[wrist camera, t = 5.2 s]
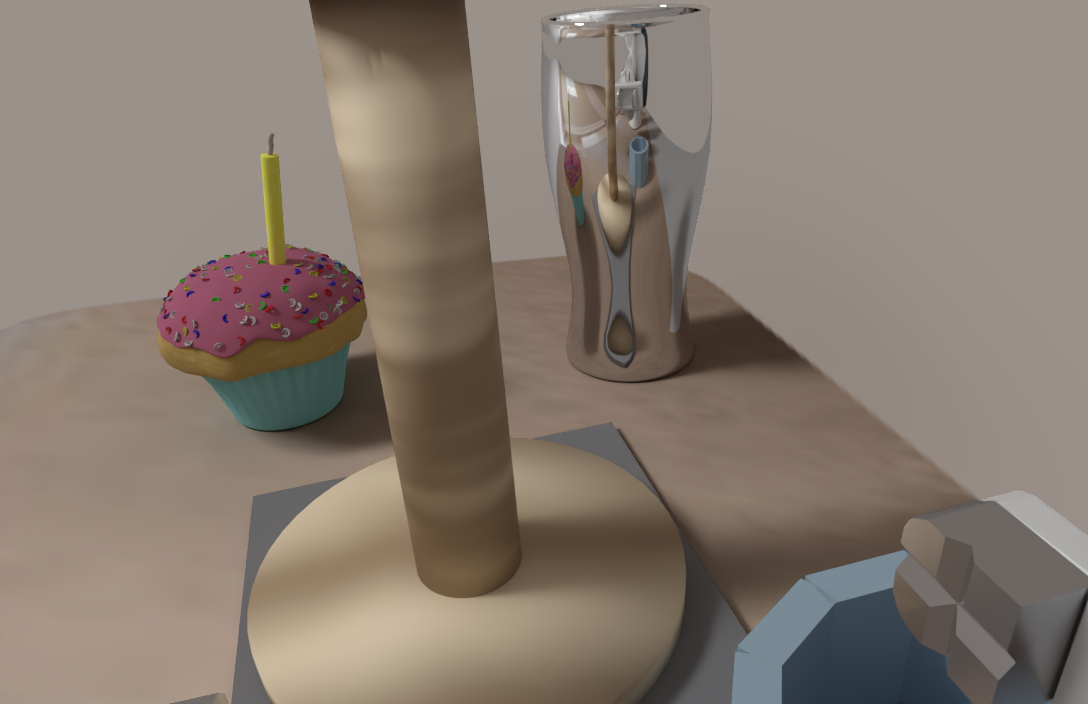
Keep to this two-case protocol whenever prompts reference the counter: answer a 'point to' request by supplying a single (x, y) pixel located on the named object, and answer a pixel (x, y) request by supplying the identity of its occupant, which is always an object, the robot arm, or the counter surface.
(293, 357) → the cupcake
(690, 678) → the mat
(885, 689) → the bowl
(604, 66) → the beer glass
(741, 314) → the counter surface
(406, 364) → the brown piece
